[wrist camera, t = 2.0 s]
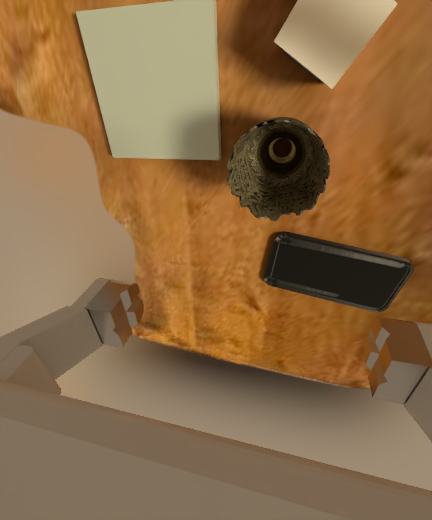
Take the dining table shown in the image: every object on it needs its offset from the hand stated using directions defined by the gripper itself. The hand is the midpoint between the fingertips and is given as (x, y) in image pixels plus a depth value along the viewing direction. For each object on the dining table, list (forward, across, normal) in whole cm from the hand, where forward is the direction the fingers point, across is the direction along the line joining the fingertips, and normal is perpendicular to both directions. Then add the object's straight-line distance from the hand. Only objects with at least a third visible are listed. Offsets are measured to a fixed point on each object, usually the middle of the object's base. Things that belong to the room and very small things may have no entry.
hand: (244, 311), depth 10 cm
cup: (+22, 0, 0) cm, 22 cm away
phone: (+22, -7, +14) cm, 27 cm away
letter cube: (+22, -2, -9) cm, 24 cm away
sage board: (+22, +12, -5) cm, 25 cm away
